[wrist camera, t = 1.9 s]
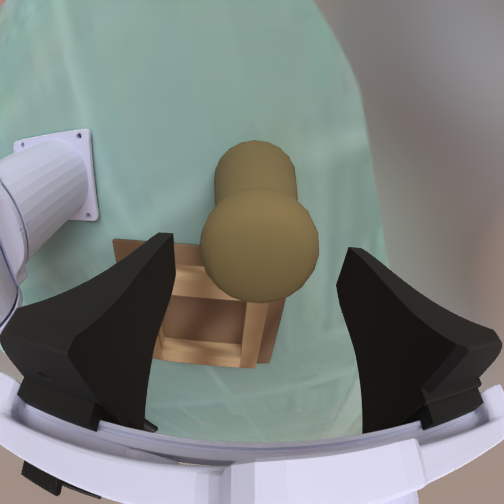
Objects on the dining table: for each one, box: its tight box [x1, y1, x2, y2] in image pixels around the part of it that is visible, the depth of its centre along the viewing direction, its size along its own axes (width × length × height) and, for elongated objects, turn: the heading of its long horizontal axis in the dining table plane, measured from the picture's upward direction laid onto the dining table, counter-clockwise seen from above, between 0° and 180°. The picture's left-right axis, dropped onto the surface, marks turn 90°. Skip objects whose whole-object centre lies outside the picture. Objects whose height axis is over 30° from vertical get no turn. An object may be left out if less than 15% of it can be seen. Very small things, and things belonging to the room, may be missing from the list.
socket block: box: [113, 239, 286, 368], centre depth 26 cm, size 16×16×2 cm
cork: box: [200, 140, 319, 303], centre depth 15 cm, size 6×6×11 cm
